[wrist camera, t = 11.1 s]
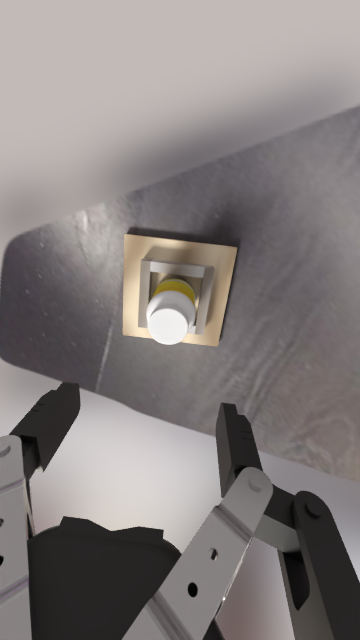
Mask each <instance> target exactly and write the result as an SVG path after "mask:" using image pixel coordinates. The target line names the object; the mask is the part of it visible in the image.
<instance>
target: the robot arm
mask: <svg viewBox="0 0 360 640" xmlns="http://www.w3.org/2000/svg"><path fill="white" fill-rule="evenodd" d="M79 410H80V392H79V384H78V383H71V382H63V383H62V384H61V385H60V386H59V387H58V389H57V390H51V391H49V392H48V393H46V394H45V395H43V396H42V397H41V398H40V399H39V401H38V402H37V403H36V405H34V406H33V407H32V409H31V410H30V411H29V412H28V413H27V414H26V415H25V417H24V418H23V419H22V420H21V421H20V422H19V423H18V425H17V426H16V427H15V428H14V429H13V430H12V432H11V433H10V434H9V435H7V436H3V437H0V640H225V639H224V637H223V635H222V633H221V631H220V629H219V627H218V625H217V623H216V618H217V615H218V613H219V611H220V609H221V607H222V605H223V603H224V601H225V598H226V596H227V594H228V592H229V590H230V587H231V585H232V583H233V581H234V579H235V576H236V574H237V572H238V570H239V567H240V566H241V564H242V561H243V559H244V557H245V555H246V553H247V551H248V549H249V546H250V544H251V542H252V540H253V538H254V537H256V538H258V539H260V540H262V541H264V542H266V543H267V544H269V545H271V546H273V547H275V548H277V551H278V556H279V561H280V566H281V571H282V576H283V581H284V586H285V591H286V596H287V601H288V606H289V611H290V616H291V621H292V626H293V631H294V636H295V640H360V582H359V580H358V578H357V575H356V573H355V570H354V568H353V565H352V563H351V560H350V558H349V555H348V553H347V550H346V548H345V546H344V543H343V541H342V538H341V536H340V533H339V531H338V529H337V526H336V524H335V521H334V519H333V516H332V514H331V512H330V510H329V508H328V507H327V505H326V504H325V503H324V502H323V501H322V500H321V499H320V498H319V497H318V496H316V495H315V494H313V493H311V492H308V491H300V492H298V493H297V494H296V495H293V494H290V493H288V492H286V491H284V490H282V489H280V488H278V487H276V486H275V485H274V484H272V483H271V481H270V479H269V478H268V476H267V475H266V474H265V473H264V472H263V469H262V466H261V462H260V458H259V455H258V451H257V447H256V443H255V441H254V436H253V434H252V428H251V425H250V423H249V421H248V420H247V418H246V417H245V416H244V415H238V414H237V409H236V405H235V404H229V403H221V405H220V410H219V414H218V418H217V423H216V443H217V453H218V464H219V475H220V485H221V497H222V498H223V500H222V501H221V503H220V504H219V505H218V506H215V507H214V508H213V510H212V511H211V512H210V514H209V516H208V517H207V518H206V520H205V521H204V523H203V524H202V526H201V527H200V529H199V531H198V532H197V533H196V535H195V536H194V538H193V539H192V541H191V542H190V544H189V545H188V547H187V548H186V550H185V551H184V552H183V554H181V553H180V552H179V550H178V549H177V548H176V547H175V546H174V545H172V544H171V543H170V542H168V541H166V540H164V539H163V531H164V530H161V529H153V528H146V527H133V528H128V529H122V530H117V531H110V530H108V529H105V528H104V527H102V526H100V525H98V524H96V523H94V522H92V521H90V520H88V519H80V518H73V517H66V516H64V517H63V519H62V521H61V523H60V525H59V526H55V527H51V528H48V529H46V530H44V531H42V532H40V533H38V534H36V532H35V525H34V518H33V508H32V496H31V486H30V478H31V476H32V475H33V473H34V472H40V473H43V472H44V471H45V469H46V467H47V465H48V464H49V462H50V460H51V459H52V457H53V456H54V454H55V452H56V451H57V449H58V447H59V446H60V444H61V442H62V441H63V439H64V437H65V436H66V434H67V432H68V431H69V429H70V427H71V426H72V424H73V422H74V421H75V419H76V417H77V416H78V413H79Z"/></svg>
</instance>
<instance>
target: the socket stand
mask: <svg viewBox="0 0 360 640" xmlns="http://www.w3.org/2000/svg"><path fill="white" fill-rule="evenodd" d="M236 253H237V247H232V246H224V245H216V244H207V243H199V242H191V241H183V240H174V239H166V238H158V237H150V236H142V235H133V234H124V293H123V335H128V336H136V337H144V338H152V339H154V338H153V337H152V336H151V334H150V333H149V330H148V321H147V316H146V312H147V307H148V304H149V302H150V300H151V298H152V296H153V294H154V292H155V290H156V288H157V286H158V285H159V284H160V282H162V281H163V280H164V279H166V278H169V277H181V278H184V279H185V280H187V281H188V282H189V283H190V284H191V285H192V286H193V288H194V291H195V312H196V316H195V322H194V324H193V326H192V328H191V329H190V330H189V331H188V332H187V334H186V336H185V338H184V339H183V340H181V341H180V342H185V343H193V344H201V345H209V346H217V347H218V342H219V337H220V332H221V327H222V322H223V317H224V312H225V307H226V302H227V297H228V292H229V287H230V282H231V277H232V272H233V267H234V262H235V257H236Z"/></svg>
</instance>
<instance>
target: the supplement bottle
mask: <svg viewBox="0 0 360 640" xmlns="http://www.w3.org/2000/svg"><path fill="white" fill-rule="evenodd" d="M146 316H147V321H148V330H149V333H150V334H151V336H152V337H153V338H154V339H155V340H156V341H158V342H160V343H162V344H167V345H170V344H176V343H178V342H180V341H181V340H183V339H184V338H185V336H186V334H187V332H188V331H189V330H190V329H191V328H192V326H193V324H194V322H195V316H196V312H195V291H194V288H193V286H192V285H191V284H190V283H189V282H188V281H187V280H185V279H184V278H181V277H169V278H166V279H164V280H163V281H162V282H160V284H159V285H158V286H157V288H156V290H155V292H154V294H153V296H152V298H151V300H150V302H149V304H148V307H147V312H146Z"/></svg>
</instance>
